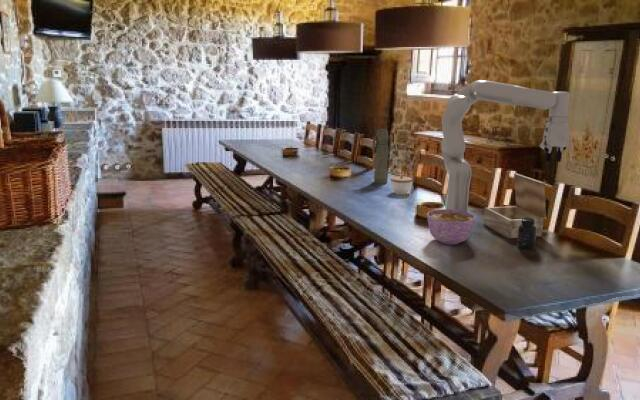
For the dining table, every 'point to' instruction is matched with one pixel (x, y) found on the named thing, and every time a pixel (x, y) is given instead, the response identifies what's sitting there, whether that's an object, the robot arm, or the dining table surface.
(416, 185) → the dining table surface
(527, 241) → the supplement bottle
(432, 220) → the bowl of food
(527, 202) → the lid
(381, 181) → the thermos
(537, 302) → the dining table surface
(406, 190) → the lidded bowl
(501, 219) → the box
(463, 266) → the dining table surface
